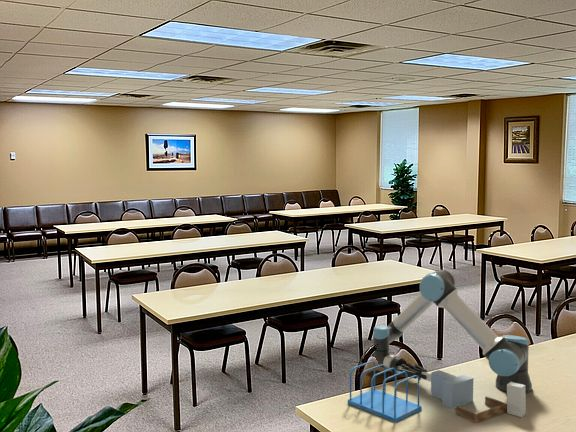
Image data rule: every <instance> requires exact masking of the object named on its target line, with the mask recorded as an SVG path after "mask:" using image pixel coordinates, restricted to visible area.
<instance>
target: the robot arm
mask: <svg viewBox="0 0 576 432" xmlns="http://www.w3.org/2000/svg"><path fill="white" fill-rule="evenodd" d="M455 285H456V281H455V277H454V275H453V274H452V273H451V272H450V271H448V270H446V269H438V270H436V271H433V272H430V273H428V274H426V275H425V276H424V277H422V278H421V280H420V282H419V292H420V294H418V295H417V297H415V298H414V299H413V301H412V302H411V303H409V305H407V306H406V307H405V308H404V309H403V310H402V312H400V314H398V315H397V316H396V317H395V318H394V319H393V320H392V321H391V322H390V323H389V324H388V325H376V326H374V327H373V333H372V337H373V338H372V341H373V345H372V347H374V346H375V345H376V346H377V347H376V346H375V347H376V348H377V349H376V350H375V352H374V353H373V354H372V356H373V357H375V358H376V360H377V361H378V364H379V365H381V364H383V365H384V366H385V368H386V370H388V369H390V368H395V369H396V373H397V374H398V373H400V372H403V371H405V372H407V375H408V378H409V377H412V376H414V375H417V376H418V377H419V381H420V380H425V381H427V382H430V383H431V373H428V372H427V371H428V370H427V368H426V369H425V368H424V367H422V366H420V365H419V364H418V363H414V364H413V365H412V364H411V363H408V362H407V361H406V360H405V358H402V357H400V356H397V355H394V354H391V353H390V344H391V343H393V341H395V340H397V339H399V338H400V337H402V335H403V333H405V331H406V330H408V329H409V327H411V325H413V324H414V323H415V322H416V321H417V320H418V319H420V317H421V316H423V315H424V313H425V312H427V311H428V309H430V308H431V307H432V306H433V305H436V306H437V308H442V309H444V310H445V311H446V312H447V313H448V314H449V315H450V317H452V319H454V321H455V322H456V323H457V324H458V325H459V326H460V327H461V328H462V329H463V330H464V331H465V333H467V334H468V336H469V337H471V339H472V340H473V341H474V342H475V343H476V344H477V345H478V346H479V347H480V348H481V350H482V355H483V357H484V358H485V359H486V360H487V361H488V365H489V368H490V369H491V371H492V372H494V374H496V375H497V376H496V378H495V387H496V388H497V389H499V390H500V391H503V392H506V393H507V384H508V383H510V382H514V383H518V384H523V385H525V392H526V393H525V394H527V393H530V392H532V390H533V383H532V381H531V378H530V374H529V352H530V351H529V347H530V345H529V344H530V343H529V340H528V338H526V337H523V336H519V335H510V334H505V335H501V336H499V335H497V334H496V333H495V332H494V331H493V329H492V328H490V327H489V325H488V324H486V322H485V321H484V320H483V319H482V318H481V317H480V316H479V315H478V314H477V313H476V312H475V311H474V309H472V308H471V307H470V306H469V305H468V304H467V303H466V302H465V301H464V300H463V299H462V297H461V296H460V295H459V294H458V288H457V287H455ZM381 342H382V343H381ZM377 344H378V345H377ZM381 367H382V369H384V367H383V366H380V367H379V368H381ZM389 372H390V373H394V374H395V371H394V369H392V370H390V371H389ZM400 376H404V377H406V374H405V373H402V374H400ZM413 379H418V378H417V377H414V378H413Z"/></svg>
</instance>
